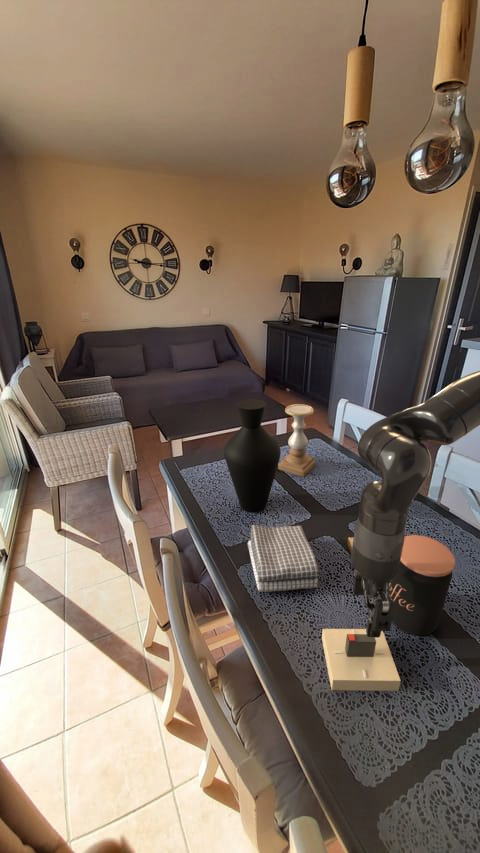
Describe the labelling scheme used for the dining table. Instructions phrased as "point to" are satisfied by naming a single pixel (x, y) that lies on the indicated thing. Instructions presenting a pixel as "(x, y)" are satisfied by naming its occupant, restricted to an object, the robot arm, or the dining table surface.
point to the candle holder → (298, 443)
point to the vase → (252, 457)
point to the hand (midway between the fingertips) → (365, 613)
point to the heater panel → (359, 664)
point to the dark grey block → (360, 645)
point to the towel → (282, 559)
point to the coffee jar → (421, 585)
